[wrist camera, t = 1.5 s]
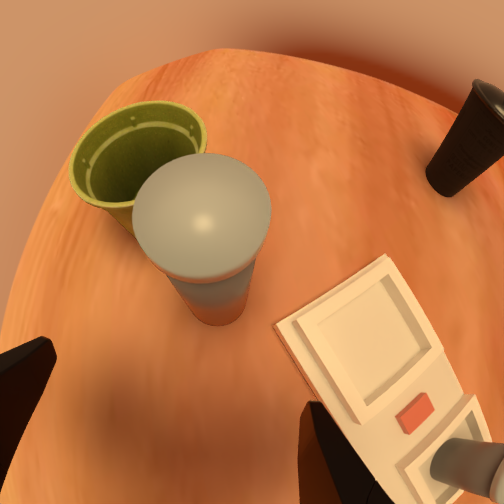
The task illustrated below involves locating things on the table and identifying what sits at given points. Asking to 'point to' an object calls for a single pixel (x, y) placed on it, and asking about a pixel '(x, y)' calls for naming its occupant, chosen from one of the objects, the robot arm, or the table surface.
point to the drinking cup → (470, 141)
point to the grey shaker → (204, 230)
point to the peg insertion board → (394, 389)
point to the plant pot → (132, 153)
